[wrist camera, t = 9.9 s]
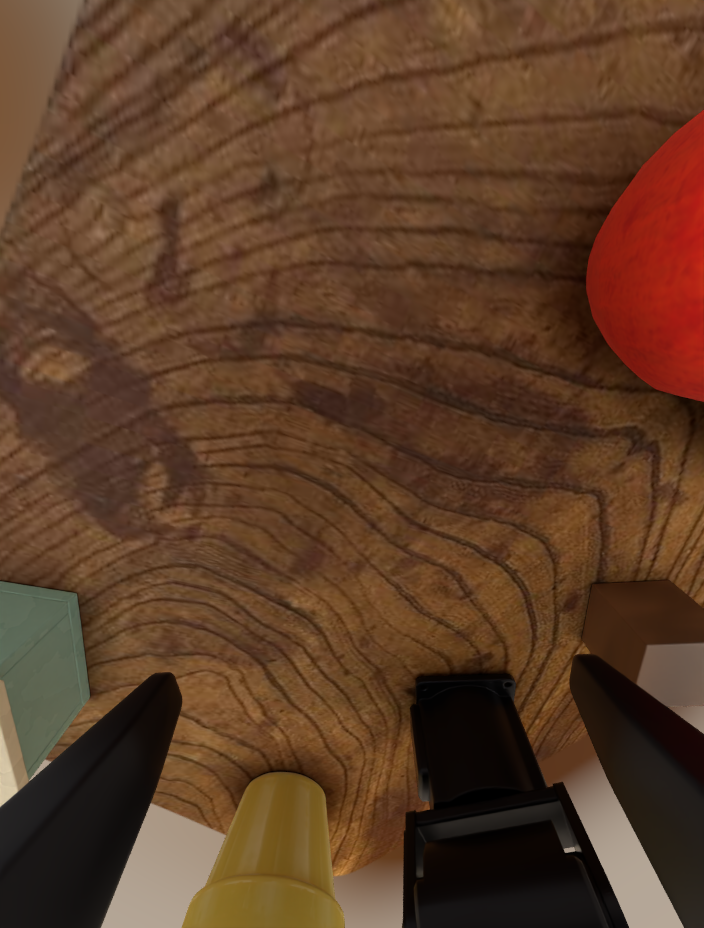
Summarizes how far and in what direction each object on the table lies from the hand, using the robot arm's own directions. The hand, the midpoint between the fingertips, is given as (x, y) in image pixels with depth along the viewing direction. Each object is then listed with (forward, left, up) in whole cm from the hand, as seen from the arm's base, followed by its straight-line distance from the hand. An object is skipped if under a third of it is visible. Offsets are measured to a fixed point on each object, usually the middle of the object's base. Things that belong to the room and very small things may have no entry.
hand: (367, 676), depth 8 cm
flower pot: (+8, +28, -12) cm, 32 cm away
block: (-15, +10, -12) cm, 22 cm away
